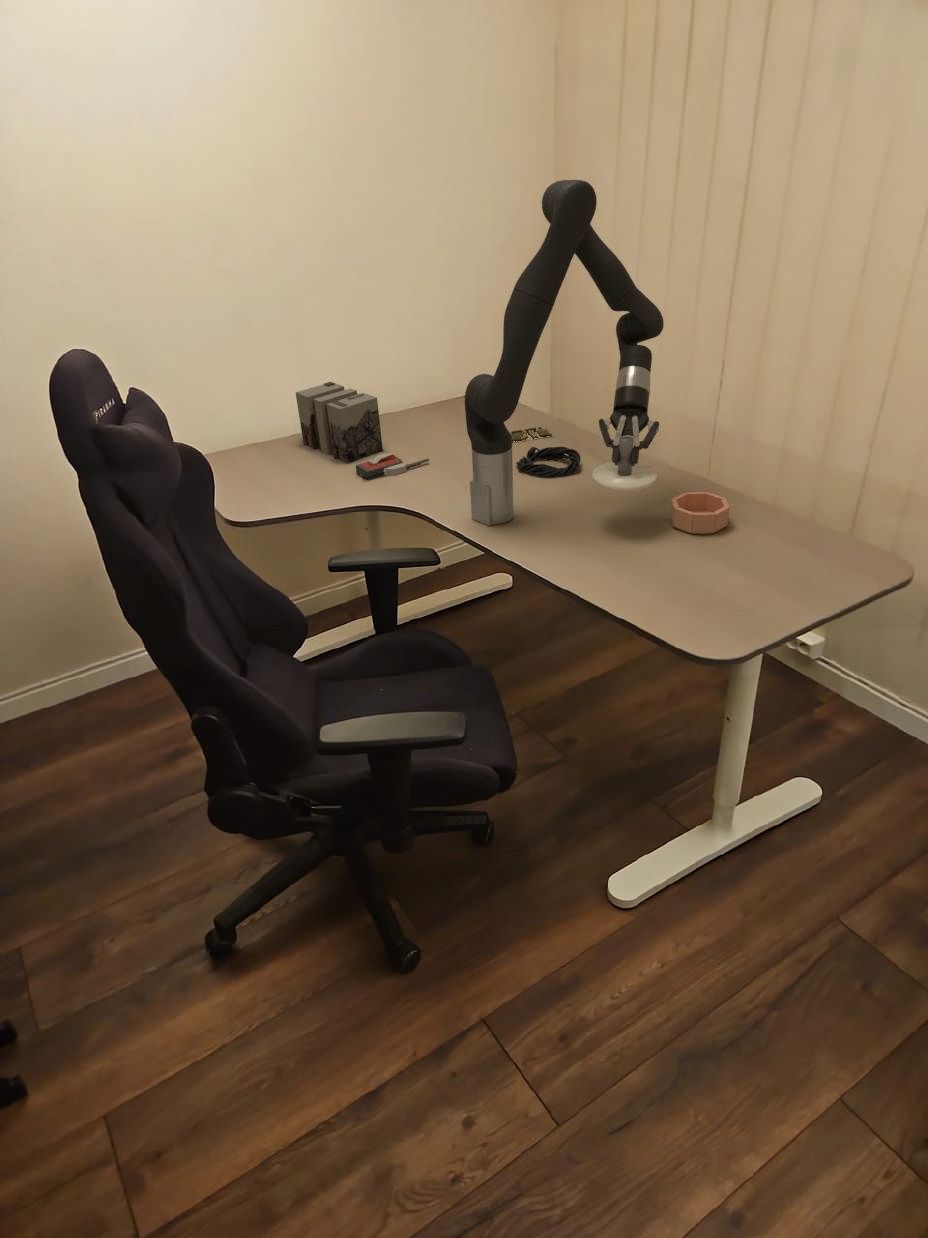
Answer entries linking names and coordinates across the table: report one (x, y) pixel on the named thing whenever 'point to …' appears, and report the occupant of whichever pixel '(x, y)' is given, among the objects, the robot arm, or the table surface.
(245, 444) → the table surface
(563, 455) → the cable
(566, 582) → the table surface
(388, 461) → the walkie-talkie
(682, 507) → the bowl
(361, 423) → the bookend
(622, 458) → the lid
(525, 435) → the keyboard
